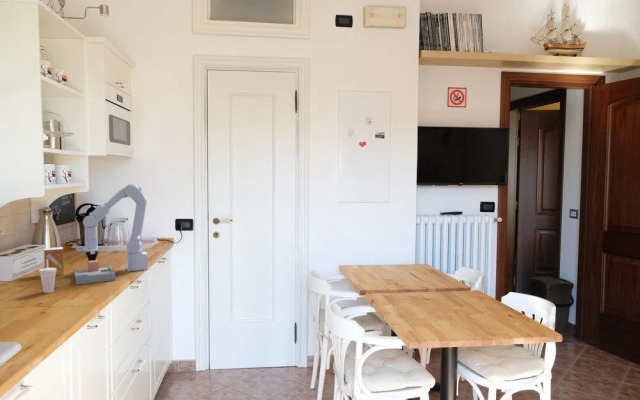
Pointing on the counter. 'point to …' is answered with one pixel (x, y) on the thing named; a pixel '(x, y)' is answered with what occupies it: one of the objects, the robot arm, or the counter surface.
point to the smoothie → (48, 278)
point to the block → (93, 266)
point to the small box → (54, 259)
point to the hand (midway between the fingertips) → (92, 265)
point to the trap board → (94, 275)
